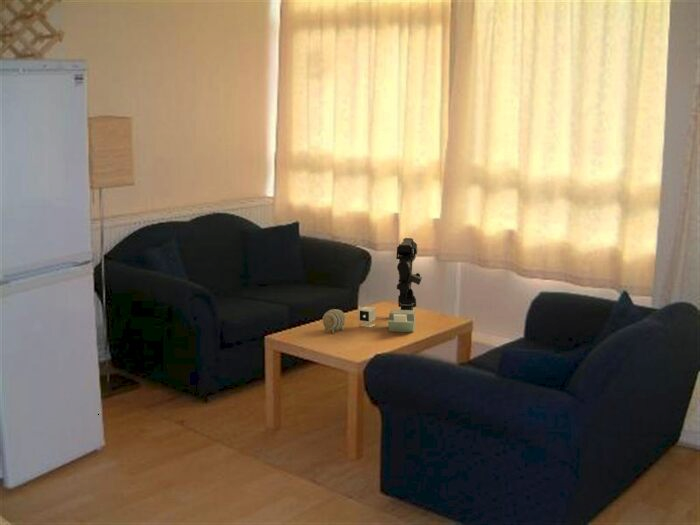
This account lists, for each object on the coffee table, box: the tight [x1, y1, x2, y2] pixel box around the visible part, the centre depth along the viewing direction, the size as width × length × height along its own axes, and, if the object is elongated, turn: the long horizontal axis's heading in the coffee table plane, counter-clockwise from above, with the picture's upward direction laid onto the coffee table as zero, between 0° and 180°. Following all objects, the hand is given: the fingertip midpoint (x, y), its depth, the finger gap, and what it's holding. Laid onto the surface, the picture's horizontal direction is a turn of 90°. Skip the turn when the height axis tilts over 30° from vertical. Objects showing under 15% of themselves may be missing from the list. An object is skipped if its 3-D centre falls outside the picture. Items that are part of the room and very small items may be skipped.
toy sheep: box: [322, 308, 346, 335], centre depth 406 cm, size 11×17×11 cm, turn 153°
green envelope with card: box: [387, 314, 415, 333], centre depth 398 cm, size 1×12×13 cm
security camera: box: [358, 306, 376, 328], centre depth 412 cm, size 6×7×10 cm
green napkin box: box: [388, 309, 416, 330], centre depth 406 cm, size 8×12×10 cm, turn 81°
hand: (404, 299), depth 416 cm, fingers closed
